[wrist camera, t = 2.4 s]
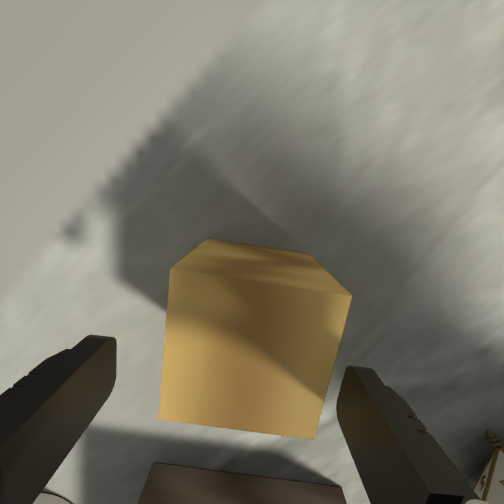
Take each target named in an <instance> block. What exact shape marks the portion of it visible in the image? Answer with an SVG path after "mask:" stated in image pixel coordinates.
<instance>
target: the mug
mask: <svg viewBox="0 0 504 504" xmlns="http://www.w3.org/2000/svg"><path fill="white" fill-rule="evenodd" d="M33 504H71V503H69V502H68V501H66V500H64V499H62V498H60V497H58V496H55V495H51V494H46V493H40V494H39V496H38V497H37V498H36V500H35V501H34V503H33Z"/></svg>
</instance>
